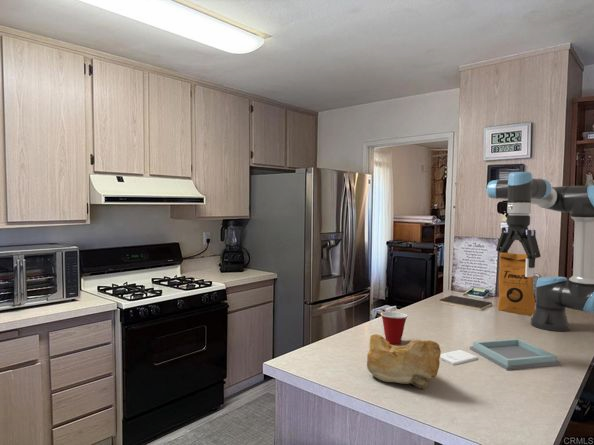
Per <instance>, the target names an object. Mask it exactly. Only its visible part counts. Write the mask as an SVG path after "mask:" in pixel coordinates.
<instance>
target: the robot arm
mask: <svg viewBox="0 0 594 445" xmlns="http://www.w3.org/2000/svg"><path fill="white" fill-rule="evenodd" d="M486 194H487V196H488V197H489V198H490V199H497V200H498V199H500V200H507V207H506V210H507V211H506V213H507V214H508V215H507V216H506V225H507V226H508V227H504V226H503V227H501V234H500V237H499V239H498V242H497V245H496V248H495V251H496V252H498V253H499V254H500V253H501V252H502V253H509V250H510V248H511V247H512V245H513V243H514V242H515V241H518V242H519V243H521V244H520V245H521V246H522V248H523V250H524V252H525V254H527V258H526V268H525V277H533V278H534V270H535V268H536V259H538V258H541V257H542V256H541V252H540V248H539V245H538V242H537V241H538V240H537V237H536V234H537V233H536V230H535V229H529V226H530V225H531V216H530V214H532V212H531V211H532V209H531V208H532V207H531V206H532V205H537V206H538V207H539V208H541V209H547V210H551V211H555V212H560V213H570V218H571V219H572V220H573V222H574V232H573V233H574V235H573V236H574V238H573V268H572V269H573V270H572V276H571V277H569V278H567V277H565V276H542V277H538V278H537V280H536V286H535V287H536V289H535V290H536V294H535V297H536V299H535V313H534V314H532V316H531V318H530V325H531V326H532V327H534V328H538V329H541V330H545V331H552V332H567V331H569V330H570V323H569V321H568V316H567V313H566V308H567V309H571V310H575V311H581V312H583V313H590V314H594V185H593V184H590V185H563V186H552V185H551V182H549V181H548V180H547V179H544V178H533V174H532V173H531V172H529V171H513V172H510V173H509V174H508V179H496V180H490V181H489V182H488V183H487V185H486Z"/></svg>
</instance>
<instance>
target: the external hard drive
mask: <svg viewBox="0 0 594 445" xmlns="http://www.w3.org/2000/svg"><path fill="white" fill-rule="evenodd" d="M477 360H478V356H476V355H475V354H471V353H469V352H467V351H465V350H462V349H457V350H453V351H448V352H445V353H441V354H440V358H439V361H444V362H445V363H448V364H450V365H451V366H456V365H459V364H465V363H468V362H472V361H477Z"/></svg>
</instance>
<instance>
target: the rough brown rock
mask: <svg viewBox="0 0 594 445" xmlns="http://www.w3.org/2000/svg"><path fill="white" fill-rule="evenodd" d="M369 338H370V339H369V351H368V353H367V355H366V356H367V357H366V358H367V360H366V361H367V362H366V368H367V370H368V372H370V373H371V375H373V377H374V378H376V379H378V380H379V381H382V382H386V383H396V384H397V383H398V384H401V385H402V384H403V385H404V384H412V385H413V386H414V387H416V388H418V389H421V388H422V389H425V388H427V386H428V384H429V382H430V380H431V379H432V378H436V377H437V376H438V372H439V368H440V363H441V362H440V359H439V358H440V354H442V353H441V347H440V344H439V343H437V342H436V341H433V340H429V339H428V340H421V339H415V340H410V342H408V343H407V344H405V345H404V344H403V345H391V344H390V343H389V342H388V341H386V338H384V337H383V336H382V335H381V334H376V333H375V334H372V335H370V337H369ZM422 389H421V390H422Z"/></svg>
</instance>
